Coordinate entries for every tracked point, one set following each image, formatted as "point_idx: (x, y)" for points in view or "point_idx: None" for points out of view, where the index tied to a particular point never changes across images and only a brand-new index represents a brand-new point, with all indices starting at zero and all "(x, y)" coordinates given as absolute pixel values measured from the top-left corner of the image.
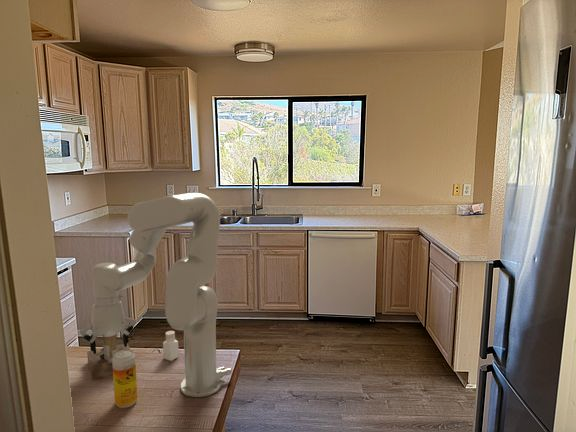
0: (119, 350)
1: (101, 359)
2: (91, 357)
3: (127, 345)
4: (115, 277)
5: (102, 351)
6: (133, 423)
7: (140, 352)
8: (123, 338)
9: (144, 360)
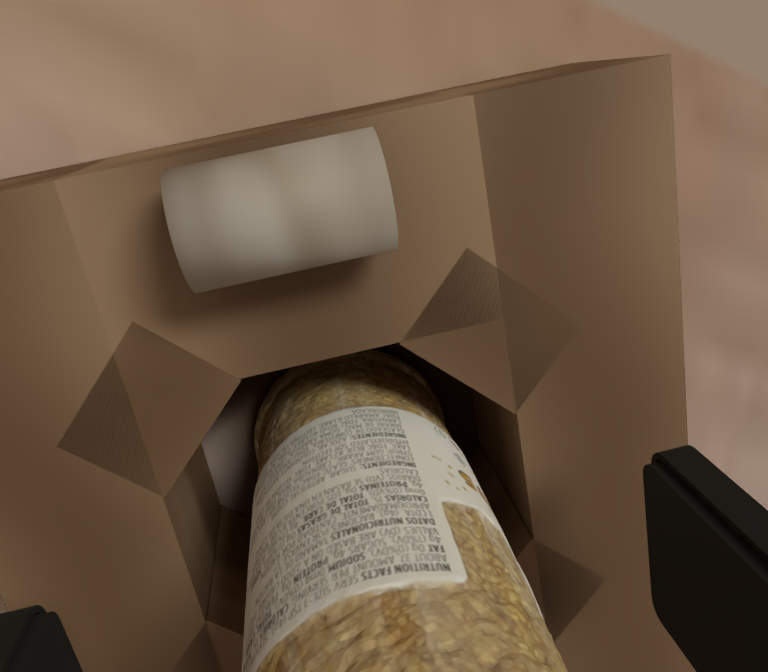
0: (506, 379)
1: (221, 630)
2: (17, 518)
3: (662, 207)
4: None
5: (186, 327)
6: None
7: (754, 113)
8: (732, 611)
9: (753, 390)
